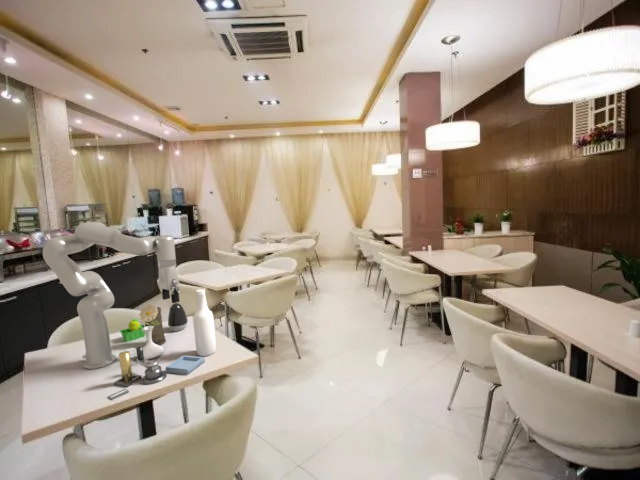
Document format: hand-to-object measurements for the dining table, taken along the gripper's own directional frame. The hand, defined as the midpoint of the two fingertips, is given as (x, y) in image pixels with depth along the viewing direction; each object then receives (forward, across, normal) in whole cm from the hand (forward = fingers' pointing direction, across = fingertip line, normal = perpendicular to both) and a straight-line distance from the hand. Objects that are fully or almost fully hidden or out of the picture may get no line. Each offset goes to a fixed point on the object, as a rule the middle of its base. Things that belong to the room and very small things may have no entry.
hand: (170, 300), depth 155 cm
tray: (+26, +14, -2) cm, 30 cm away
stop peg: (+26, +7, -23) cm, 36 cm away
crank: (+22, +9, -16) cm, 29 cm away
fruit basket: (+27, -42, -4) cm, 50 cm away
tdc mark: (+26, +15, -29) cm, 42 cm away
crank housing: (+26, +10, -18) cm, 34 cm away
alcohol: (+26, +9, +10) cm, 30 cm away
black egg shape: (+27, -34, +16) cm, 46 cm away
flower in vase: (+27, -9, -7) cm, 29 cm away
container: (+27, -24, 0) cm, 36 cm away
